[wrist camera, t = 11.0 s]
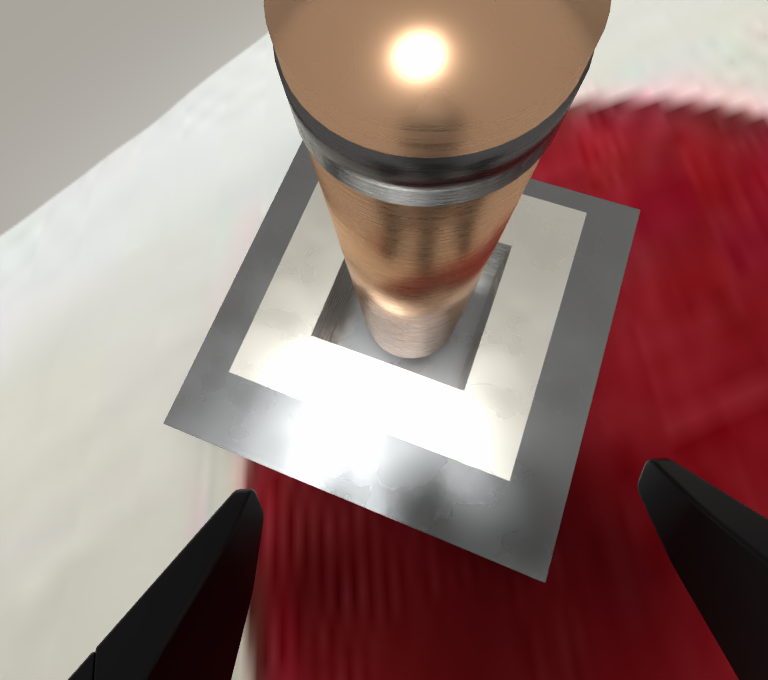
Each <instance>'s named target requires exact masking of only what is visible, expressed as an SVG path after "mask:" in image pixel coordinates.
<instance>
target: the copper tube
mask: <svg viewBox="0 0 768 680" xmlns="http://www.w3.org/2000/svg"><path fill="white" fill-rule="evenodd" d="M610 5H611V0H264V10H265V18H266V24H267V27H268V30H269V34H270V37H271V40H272V43H273V49H274V57H275V62H276V66H277V69H278V72H279V75H280V78H281V81H282V84H283V87H284V90H285V93H286V96H287V99H288V102H289V104H290V107H291V110H292V113H293V116H294V119H295V122H296V125H297V128H298V130H299V133H300V135H301V137H302V139H303V141H304V143H305V145H306V147H307V148H308V151H309V154H310V157H311V160H312V163H313V166H314V169H315V172H316V175H317V178H318V181H319V184H320V187H321V190H322V193H323V196H324V199H325V202H326V205H327V207H328V210H329V213H330V216H331V219H332V222H333V225H334V228H335V231H336V234H337V237H338V240H339V243H340V246H341V249H342V252H343V255H344V258H345V261H346V264H347V267H348V270H349V273H350V276H351V279H352V282H353V285H354V288H355V291H356V294H357V297H358V300H359V303H360V306H361V309H362V312H363V315H364V318H365V321H366V324H367V327H368V330H369V332H370V334H371V336H372V338H373V339H374V341H375V342H376V343H377V344H378V345H379V346H380V347H381V348H382V349H384V350H385V351H387V352H389V353H391V354H393V355H395V356H398V357H403V358H419V357H424V356H427V355H430V354H432V353H434V352H436V351H437V350H439V349H440V348H441V347H442V346H443V345H444V344H445V343H446V342H447V341H448V340H449V338H450V337H451V335H452V333H453V331H454V329H455V327H456V325H457V323H458V321H459V319H460V317H461V315H462V313H463V311H464V309H465V307H466V305H467V303H468V301H469V299H470V297H471V295H472V293H473V291H474V289H475V287H476V285H477V283H478V281H479V279H480V277H481V275H482V273H483V271H484V269H485V267H486V265H487V263H488V261H489V259H490V257H491V255H492V253H493V251H494V249H495V247H496V245H497V243H498V241H499V239H500V237H501V235H502V233H503V231H504V229H505V227H506V225H507V223H508V221H509V219H510V217H511V215H512V213H513V211H514V209H515V207H516V205H517V203H518V201H519V199H520V197H521V195H522V193H523V191H524V189H525V187H526V185H527V183H528V181H529V179H530V177H531V175H532V173H533V171H534V169H535V167H536V165H537V163H538V161H539V159H540V157H541V156H542V155H543V154H544V152H545V151H546V149H547V148H548V147H549V145H550V144H551V142H552V141H553V139H554V137H555V135H556V133H557V131H558V129H559V127H560V125H561V123H562V121H563V119H564V117H565V115H566V113H567V111H568V109H569V107H570V105H571V104H572V102H573V100H574V98H575V96H576V94H577V92H578V90H579V88H580V86H581V84H582V82H583V80H584V78H585V76H586V74H587V72H588V70H589V67H590V64H591V60H592V57H593V54H594V49H595V47H596V45H597V43H598V41H599V39H600V37H601V35H602V33H603V31H604V29H605V26H606V23H607V19H608V16H609V13H610Z"/></svg>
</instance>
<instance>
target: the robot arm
mask: <svg viewBox="0 0 768 680" xmlns="http://www.w3.org/2000/svg"><path fill="white" fill-rule="evenodd" d="M638 490H639V494H640V496H641V498H642V500H643V503H644V505H645V507H646V509H647V511H648V513H649V516H650V518H651V520H652V522H653V524H654V526H655V529H656V531H657V533H658V535H659V537H660V539H661V542H662V544H663V546H664V548H665V550H666V552H667V554H668V556H669V558H670V560H671V562H672V564H673V566H674V568H675V570H676V571H677V573H678V575H679V577H680V578H681V580H682V582H683V584H684V585H685V587H686V589H687V591H688V592H689V594H690V596H691V597H692V599H693V601H694V603H695V604H696V606H697V608H698V610H699V611H700V613H701V615H702V616H703V618H704V620H705V622H706V623H707V625H708V627H709V629H710V630H711V632H712V634H713V635H714V637H715V639H716V641H717V642H718V644H719V646H720V648H721V649H722V651H723V653H724V654H725V656H726V658H727V660H728V661H729V663H730V665H731V667H732V668H733V670H734V672H735V673H736V675H737V677H738V679H739V680H768V519H767V518H765V517H763V516H762V515H760V514H758V513H757V512H755V511H754V510H752V509H750V508H749V507H747V506H745V505H744V504H742V503H741V502H739V501H737V500H736V499H734V498H732V497H731V496H729V495H728V494H726V493H724V492H723V491H721V490H719V489H718V488H716V487H715V486H713V485H711V484H710V483H708V482H706V481H705V480H703V479H701V478H700V477H698V476H697V475H695V474H693V473H692V472H690V471H688V470H687V469H685V468H684V467H682V466H680V465H679V464H677V463H675V462H674V461H672V460H670V459H667V458H659V459H649V460H648V461H646V463H645V465H644V468H643V471H642V473H641V476H640V478H639V481H638ZM262 525H263V510H262V507H261V505H260V502H259V500H258V497H257V494H256V492H255V490H253V489H239V490H236V491H234V492H233V493H232V494H231V495H230V497H229V498H228V499H227V500H226V501H225V502H224V503H223V504H222V506H221V507H220V508H219V509H218V510H217V511H216V512H215V514H214V515H213V516H212V517H211V518H210V519H209V520H208V522H207V523H206V524H205V525H204V526H203V527H202V528H201V529H200V531H199V532H198V533H197V534H196V535H195V536H194V537H193V539H192V540H191V541H190V542H189V543H188V544H187V545H186V546H185V548H184V549H183V550H182V551H181V552H180V553H179V554H178V556H177V557H176V558H175V559H174V560H173V561H172V562H171V563H170V565H169V566H168V567H167V568H166V569H165V570H164V571H163V573H162V574H161V575H160V576H159V577H158V578H157V579H156V581H155V582H154V583H153V584H152V585H151V586H150V587H149V588H148V590H147V591H146V592H145V593H144V594H143V595H142V596H141V598H140V599H139V600H138V601H137V602H136V603H135V604H134V605H133V607H132V608H131V609H130V610H129V611H128V612H127V613H126V615H125V616H124V617H123V618H122V619H121V620H120V621H119V623H118V624H117V625H116V626H115V627H114V628H113V629H112V630H111V632H110V633H109V634H108V635H107V636H106V637H105V638H104V640H103V641H102V642H101V643H100V644H99V645H98V646H97V648H96V651H95V652H92V653H91V654H90V655H89V656H88V657H87V659H86V660H85V661H84V662H83V663H82V664H81V665H80V667H79V668H78V669H77V670H76V671H75V672H74V673H73V674H72V676H71V677H70V678H69V679H68V680H231V678H232V674H233V670H234V666H235V662H236V658H237V653H238V649H239V645H240V641H241V637H242V633H243V629H244V625H245V621H246V617H247V613H248V609H249V605H250V601H251V596H252V592H253V587H254V581H255V574H256V567H257V560H258V553H259V546H260V539H261V532H262Z"/></svg>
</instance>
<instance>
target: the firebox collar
mask: <svg viewBox="0 0 768 680" xmlns="http://www.w3.org/2000/svg"><path fill="white" fill-rule="evenodd" d="M639 213H640V210H639V209H635V208H632V207H628V206H625V205H621V204H618V203H614V202H611V201H607V200H604V199H600V198H597V197H593V196H590V195H586V194H583V193H579V192H576V191H572V190H569V189H565V188H562V187H558V186H555V185H551V184H548V183H544V182H541V181H537V180H534V179H529V181H528V183H527V185H526V187H525V189H524V191H523V193H522V195H521V197H520V199H519V201H518V203H517V205H516V207H515V209H514V211H513V213H512V215H511V217H510V219H509V221H508V223H507V225H506V227H505V229H504V231H503V233H502V235H501V237H500V239H499V241H498V243H497V245H496V247H495V249H494V251H493V253H492V255H491V257H490V259H489V261H488V263H487V265H486V267H485V269H484V271H483V273H482V275H481V277H480V279H479V281H478V283H477V285H476V287H475V289H474V291H473V293H472V295H471V297H470V299H469V301H468V303H467V305H466V307H465V309H464V311H463V313H462V315H461V317H460V319H459V321H458V323H457V325H456V327H455V329H454V331H453V333H452V335H451V337H450V338H449V340H448V341H447V342H446V343H445V344H444V345H443V346H442V347H441V348H440V349H439V350H437V351H436V352H434V353H432V354H430V355H427V356H424V357H419V358H403V357H398V356H395V355H393V354H391V353H389V352H387V351H385V350H384V349H382V348H381V347H380V346H379V345H378V344H377V343H376V342H375V341H374V339H373V338H372V336H371V334H370V332H369V330H368V327H367V324H366V321H365V318H364V315H363V312H362V309H361V306H360V303H359V300H358V297H357V294H356V291H355V288H354V285H353V282H352V279H351V276H350V273H349V270H348V267H347V264H346V261H345V258H344V255H343V252H342V249H341V246H340V243H339V240H338V237H337V234H336V231H335V228H334V225H333V222H332V219H331V216H330V213H329V210H328V207H327V205H326V202H325V199H324V196H323V193H322V190H321V187H320V184H319V181H318V178H317V175H316V172H315V169H314V166H313V163H312V160H311V157H310V154H309V151H308V148H307V147H306V145H305V143H304V141H302V143H301V145H300V147H299V149H298V151H297V153H296V155H295V157H294V159H293V161H292V163H291V165H290V167H289V170H288V172H287V174H286V176H285V178H284V180H283V182H282V184H281V186H280V188H279V190H278V192H277V194H276V196H275V198H274V200H273V202H272V204H271V206H270V208H269V210H268V212H267V214H266V216H265V218H264V220H263V222H262V224H261V226H260V228H259V230H258V232H257V235H256V237H255V239H254V241H253V243H252V245H251V247H250V249H249V251H248V253H247V255H246V257H245V259H244V261H243V263H242V265H241V267H240V269H239V271H238V273H237V275H236V277H235V279H234V281H233V283H232V285H231V287H230V289H229V291H228V293H227V295H226V298H225V300H224V302H223V304H222V306H221V308H220V310H219V312H218V314H217V316H216V318H215V320H214V322H213V324H212V326H211V328H210V330H209V332H208V334H207V336H206V338H205V340H204V342H203V344H202V346H201V348H200V350H199V352H198V354H197V356H196V358H195V360H194V363H193V365H192V367H191V369H190V371H189V373H188V375H187V377H186V379H185V381H184V383H183V385H182V387H181V389H180V391H179V393H178V395H177V397H176V399H175V401H174V403H173V405H172V407H171V409H170V411H169V413H168V415H167V417H166V419H165V421H164V423H163V424H166V425H168V426H171V427H173V428H175V429H178V430H180V431H183V432H185V433H187V434H190V435H192V436H195V437H197V438H199V439H202V440H204V441H207V442H209V443H211V444H214V445H216V446H219V447H221V448H223V449H226V450H228V451H230V452H233V453H235V454H238V455H240V456H242V457H245V458H247V459H250V460H252V461H254V462H257V463H259V464H262V465H264V466H266V467H269V468H271V469H274V470H276V471H278V472H281V473H283V474H286V475H288V476H290V477H293V478H295V479H298V480H300V481H302V482H305V483H307V484H309V485H312V486H314V487H317V488H319V489H321V490H324V491H326V492H329V493H331V494H333V495H336V496H338V497H341V498H343V499H345V500H348V501H350V502H353V503H355V504H357V505H360V506H362V507H365V508H367V509H369V510H372V511H374V512H376V513H379V514H381V515H384V516H386V517H388V518H391V519H393V520H396V521H398V522H400V523H403V524H405V525H408V526H410V527H412V528H415V529H417V530H420V531H422V532H424V533H427V534H429V535H432V536H434V537H436V538H439V539H441V540H444V541H446V542H448V543H451V544H453V545H455V546H458V547H460V548H463V549H465V550H467V551H470V552H472V553H475V554H477V555H479V556H482V557H484V558H487V559H489V560H491V561H494V562H496V563H499V564H501V565H503V566H506V567H508V568H511V569H513V570H515V571H518V572H520V573H523V574H525V575H527V576H530V577H532V578H534V579H537V580H539V581H542V582H544V583H545V582H546V578H547V574H548V570H549V566H550V562H551V559H552V555H553V551H554V547H555V543H556V539H557V535H558V531H559V527H560V523H561V519H562V515H563V511H564V507H565V504H566V500H567V496H568V492H569V488H570V484H571V480H572V476H573V472H574V468H575V464H576V460H577V456H578V453H579V449H580V445H581V441H582V437H583V433H584V429H585V425H586V421H587V417H588V413H589V409H590V405H591V402H592V398H593V394H594V390H595V386H596V382H597V378H598V374H599V370H600V366H601V362H602V358H603V354H604V350H605V347H606V343H607V339H608V335H609V331H610V327H611V323H612V319H613V315H614V311H615V307H616V303H617V299H618V296H619V292H620V288H621V284H622V280H623V276H624V272H625V268H626V264H627V260H628V256H629V252H630V248H631V244H632V241H633V237H634V233H635V229H636V225H637V221H638V217H639Z"/></svg>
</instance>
